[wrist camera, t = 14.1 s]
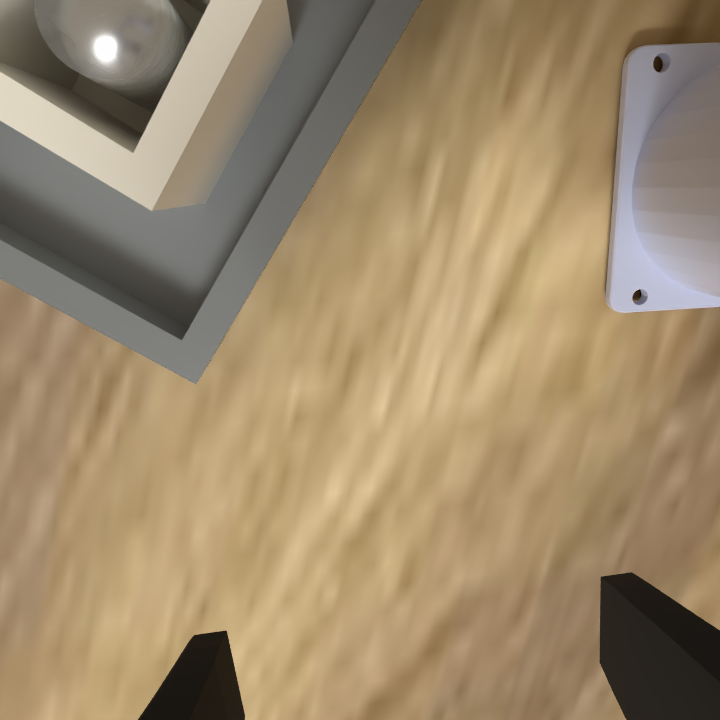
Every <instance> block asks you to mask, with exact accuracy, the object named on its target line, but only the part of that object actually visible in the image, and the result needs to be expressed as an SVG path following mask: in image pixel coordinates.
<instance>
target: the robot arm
mask: <svg viewBox="0 0 720 720" xmlns="http://www.w3.org/2000/svg"><path fill="white" fill-rule="evenodd" d="M656 56H658V57H660V58H661V59H662V62H663V66H662V70H661V71H660V72H656V70H655V69H654V67H653V61H654V58H655V57H656ZM639 289H640V290H641V294H642V295H641V297H640V299H639V300H638V301H637V302H633V300H632V297H633V294H634V293H635V292H636V291H637V290H639ZM606 303H607V305H608V306H609V308H611V309H613V310H615V311H617V312H622V313H625V312H642V311H658V310H674V309H690V308H706V307H720V42H716V43H687V44H659V45H644V46H640V47H638V48H635V49H634V50H632V51H631V52H630V53H628V55H627V57H626V58H625V60H624V64H623V72H622V85H621V98H620V112H619V125H618V138H617V151H616V165H615V178H614V191H613V204H612V218H611V231H610V244H609V257H608V271H607V284H606ZM600 664H601V666H602V669H603V671H604V673H605V675H606V677H607V680H608V682H609V684H610V686H611V688H612V691H613V693H614V695H615V697H616V699H617V701H618V703H619V705H620V707H621V709H622V711H623V714H624V716H625V718H626V719H627V720H720V630H718V629H717V628H715V627H714V626H712V625H710V624H709V623H707V622H706V621H704V620H703V619H701V618H700V617H698V616H697V615H695V614H694V613H692V612H691V611H689V610H688V609H686V608H685V607H683V606H682V605H680V604H679V603H677V602H676V601H674V600H673V599H671V598H670V597H668V596H667V595H666V594H664V593H663V592H661V591H660V590H658V589H657V588H655V587H654V586H652V585H651V584H649V583H648V582H646V581H644V580H643V579H641V578H640V577H638V576H637V575H635V574H633V573H632V572H631V573H624V574H617V575H610V576H603V577H601V601H600ZM138 720H245V714H244V709H243V705H242V700H241V695H240V691H239V686H238V681H237V677H236V672H235V667H234V663H233V658H232V653H231V649H230V644H229V640H228V635H227V631H220V632H213V633H206V634H199V635H194V636H193V637H192V638H191V640H190V641H189V642H188V644H187V646H186V647H185V649H184V650H183V652H182V653H181V655H180V657H179V658H178V660H177V661H176V663H175V664H174V666H173V668H172V669H171V671H170V672H169V674H168V675H167V677H166V679H165V680H164V682H163V683H162V685H161V686H160V688H159V689H158V691H157V692H156V694H155V695H154V697H153V698H152V700H151V701H150V703H149V704H148V706H147V707H146V709H145V710H144V712H143V713H142V714H141V716H140V717H139V719H138Z"/></svg>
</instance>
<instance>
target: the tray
mask: <svg viewBox="0 0 720 720" xmlns="http://www.w3.org/2000/svg"><path fill="white" fill-rule="evenodd" d="M421 1H422V0H287V7H288V13H289V20H290V26H291V32H292V39H293V44H292V46H291V47H290V49H289V51H288V53H287V55H286V57H285V58H284V60H283V62H282V64H281V66H280V68H279V69H278V71H277V73H276V75H275V77H274V79H273V80H272V82H271V84H270V86H269V88H268V90H267V91H266V93H265V95H264V97H263V99H262V101H261V102H260V104H259V106H258V108H257V110H256V112H255V113H254V115H253V117H252V119H251V121H250V123H249V124H248V126H247V128H246V130H245V132H244V134H243V135H242V137H241V139H240V141H239V143H238V145H237V147H236V148H235V150H234V152H233V154H232V156H231V158H230V159H229V161H228V163H227V165H226V167H225V169H224V170H223V172H222V174H221V176H220V178H219V180H218V181H217V183H216V185H215V187H214V189H213V191H212V192H211V194H210V196H209V198H208V200H207V202H206V203H205V204H198V205H191V206H184V207H177V208H170V209H163V210H155V211H151V210H149V209H148V208H146V207H144V206H143V205H141V204H139V203H138V202H136V201H134V200H132V199H131V198H129V197H127V196H126V195H124V194H122V193H121V192H119V191H117V190H116V189H114V188H112V187H111V186H109V185H107V184H106V183H104V182H102V181H101V180H99V179H97V178H96V177H94V176H92V175H91V174H89V173H87V172H86V171H84V170H82V169H80V168H79V167H77V166H75V165H74V164H72V163H70V162H69V161H67V160H65V159H64V158H62V157H60V156H59V155H57V154H55V153H54V152H52V151H50V150H49V149H47V148H45V147H44V146H42V145H40V144H39V143H37V142H35V141H34V140H32V139H30V138H28V137H27V136H25V135H23V134H22V133H20V132H18V131H17V130H15V129H13V128H12V127H10V126H8V125H7V124H5V123H3V122H2V121H0V279H2V280H4V281H6V282H8V283H10V284H11V285H13V286H15V287H17V288H19V289H21V290H22V291H24V292H26V293H28V294H30V295H32V296H34V297H35V298H37V299H39V300H41V301H43V302H45V303H47V304H48V305H50V306H52V307H54V308H56V309H58V310H60V311H61V312H63V313H65V314H67V315H69V316H71V317H73V318H74V319H76V320H78V321H80V322H82V323H84V324H85V325H87V326H89V327H91V328H93V329H95V330H97V331H98V332H100V333H102V334H104V335H106V336H108V337H110V338H111V339H113V340H115V341H117V342H119V343H121V344H123V345H124V346H126V347H128V348H130V349H132V350H134V351H135V352H137V353H139V354H141V355H143V356H145V357H147V358H148V359H150V360H152V361H154V362H156V363H158V364H160V365H161V366H163V367H165V368H167V369H169V370H171V371H173V372H174V373H176V374H178V375H180V376H182V377H184V378H185V379H187V380H189V381H191V382H193V383H195V384H197V382H198V381H199V379H200V377H201V376H202V374H203V372H204V371H205V369H206V367H207V366H208V364H209V362H210V361H211V359H212V357H213V355H214V354H215V352H216V350H217V349H218V347H219V345H220V344H221V342H222V340H223V338H224V337H225V335H226V333H227V332H228V330H229V328H230V327H231V325H232V323H233V321H234V320H235V318H236V316H237V315H238V313H239V311H240V309H241V308H242V306H243V304H244V303H245V301H246V299H247V298H248V296H249V294H250V292H251V291H252V289H253V287H254V286H255V284H256V282H257V281H258V279H259V277H260V275H261V274H262V272H263V270H264V269H265V267H266V265H267V263H268V262H269V260H270V258H271V257H272V255H273V253H274V252H275V250H276V248H277V246H278V245H279V243H280V241H281V240H282V238H283V236H284V234H285V233H286V231H287V229H288V228H289V226H290V224H291V223H292V221H293V219H294V217H295V216H296V214H297V212H298V211H299V209H300V207H301V206H302V204H303V202H304V200H305V199H306V197H307V195H308V194H309V192H310V190H311V188H312V187H313V185H314V183H315V182H316V180H317V178H318V177H319V175H320V173H321V171H322V170H323V168H324V166H325V165H326V163H327V161H328V159H329V158H330V156H331V154H332V153H333V151H334V149H335V148H336V146H337V144H338V142H339V141H340V139H341V137H342V136H343V134H344V132H345V131H346V129H347V127H348V125H349V124H350V122H351V120H352V119H353V117H354V115H355V113H356V112H357V110H358V108H359V107H360V105H361V103H362V102H363V100H364V98H365V96H366V95H367V93H368V91H369V90H370V88H371V86H372V85H373V83H374V81H375V79H376V78H377V76H378V74H379V73H380V71H381V69H382V67H383V66H384V64H385V62H386V61H387V59H388V57H389V56H390V54H391V52H392V50H393V49H394V47H395V45H396V44H397V42H398V40H399V38H400V37H401V35H402V33H403V32H404V30H405V28H406V27H407V25H408V23H409V21H410V20H411V18H412V16H413V15H414V13H415V11H416V10H417V8H418V6H419V4H420V3H421Z"/></svg>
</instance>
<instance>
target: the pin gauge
mask: <svg viewBox="0 0 720 720" xmlns="http://www.w3.org/2000/svg"><path fill="white" fill-rule="evenodd" d="M34 12H35V17H36V21H37V24H38V28H39V30H40V32H41V35H42V37H43V39H44V40H45V42H46V44H47V45H48V47H49V48H50V49H51V51H52V52H53V53H54V54H55V55H56V56H57V57H58V58H59V60H61V61H62V62H63V63H64V64H65V65H67V66H68V67H70V68H71V69H73V70H74V71H76V72H78V73H80V74H82V75H84V76H85V77H87V78H89V79H91V80H93V81H95V82H96V83H98V84H100V85H102V86H104V87H106V88H107V89H109V90H111V91H113V92H115V93H117V94H118V95H120V96H122V97H124V98H126V99H128V100H129V101H131V102H133V103H135V104H137V105H139V106H140V107H142V108H144V109H146V110H148V111H150V112H152V113H154V111H155V109H156V107H157V105H158V103H159V101H160V99H161V97H162V95H163V93H164V91H165V90H166V88H167V86H168V84H169V82H170V80H171V78H172V76H173V74H174V72H175V70H176V68H177V66H178V64H179V62H180V60H181V58H182V56H183V54H184V52H185V50H186V48H187V46H188V44H189V42H190V40H191V38H192V36H193V34H194V32H193V31H192V29H191V28H190V27H189V25H188V24H187V23H186V21H185V20H184V19H183V17H182V16H181V15H180V14H179V12H178V11H177V10H176V8H175V7H174V6H173V4H172V3H171V2H170V0H34Z"/></svg>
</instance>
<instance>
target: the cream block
mask: <svg viewBox="0 0 720 720" xmlns="http://www.w3.org/2000/svg"><path fill="white" fill-rule="evenodd" d="M170 2H171V3H172V4H173V6H174V7H175V8H176V10H177V11H178V12H179V14H180V15H181V16H182V17H183V19H184V20H185V21H186V23H187V24H188V25H189V27H190V28H191V29H192V31H193V32H194V34H193V36H192V38H191V40H190V42H189V44H188V46H187V48H186V50H185V52H184V54H183V56H182V58H181V60H180V62H179V64H178V66H177V68H176V70H175V72H174V74H173V76H172V78H171V80H170V82H169V84H168V86H167V88H166V90H165V91H164V93H163V95H162V97H161V99H160V101H159V103H158V105H157V107H156V109H155V111H154V113H152V112H150V111H148V110H146V109H144V108H142V107H140V106H139V105H137V104H135V103H133V102H131V101H129V100H128V99H126V98H124V97H122V96H120V95H118V94H117V93H115V92H113V91H111V90H109V89H107V88H106V87H104V86H102V85H100V84H98V83H96V82H95V81H93V80H91V79H89V78H87V77H85V76H84V75H82V74H80V73H78V72H76V71H74V70H73V69H71V68H70V67H68V66H67V65H65V64H64V63H63V62H62V61H61V60H59V58H58V57H57V56H56V55H55V54H54V53H53V52H52V51H51V49H50V48H49V47H48V45H47V44H46V42H45V40H44V39H43V37H42V35H41V32H40V30H39V28H38V24H37V21H36V17H35V12H34V0H0V121H2V122H3V123H5V124H7V125H8V126H10V127H12V128H13V129H15V130H17V131H18V132H20V133H22V134H23V135H25V136H27V137H28V138H30V139H32V140H34V141H35V142H37V143H39V144H40V145H42V146H44V147H45V148H47V149H49V150H50V151H52V152H54V153H55V154H57V155H59V156H60V157H62V158H64V159H65V160H67V161H69V162H70V163H72V164H74V165H75V166H77V167H79V168H80V169H82V170H84V171H86V172H87V173H89V174H91V175H92V176H94V177H96V178H97V179H99V180H101V181H102V182H104V183H106V184H107V185H109V186H111V187H112V188H114V189H116V190H117V191H119V192H121V193H122V194H124V195H126V196H127V197H129V198H131V199H132V200H134V201H136V202H138V203H139V204H141V205H143V206H144V207H146V208H148V209H149V210H151V211H155V210H163V209H170V208H177V207H184V206H191V205H198V204H205V203H206V202H207V200H208V198H209V196H210V194H211V192H212V191H213V189H214V187H215V185H216V183H217V181H218V180H219V178H220V176H221V174H222V172H223V170H224V169H225V167H226V165H227V163H228V161H229V159H230V158H231V156H232V154H233V152H234V150H235V148H236V147H237V145H238V143H239V141H240V139H241V137H242V135H243V134H244V132H245V130H246V128H247V126H248V124H249V123H250V121H251V119H252V117H253V115H254V113H255V112H256V110H257V108H258V106H259V104H260V102H261V101H262V99H263V97H264V95H265V93H266V91H267V90H268V88H269V86H270V84H271V82H272V80H273V79H274V77H275V75H276V73H277V71H278V69H279V68H280V66H281V64H282V62H283V60H284V58H285V57H286V55H287V53H288V51H289V49H290V47H291V46H292V44H293V39H292V32H291V26H290V20H289V13H288V7H287V0H170Z"/></svg>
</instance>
